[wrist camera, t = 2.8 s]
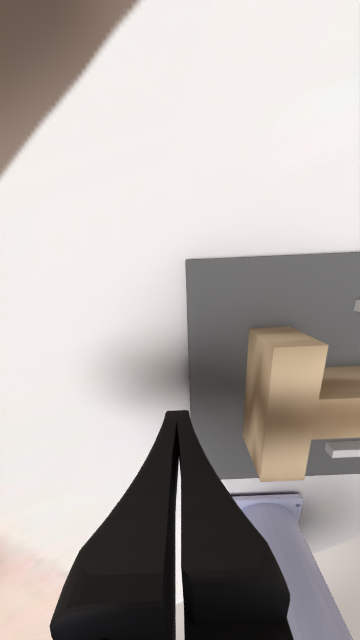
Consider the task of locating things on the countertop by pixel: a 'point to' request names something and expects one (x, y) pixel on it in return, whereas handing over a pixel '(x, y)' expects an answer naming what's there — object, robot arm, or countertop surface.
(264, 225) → the countertop surface
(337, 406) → the maple t block
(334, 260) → the nest mat
